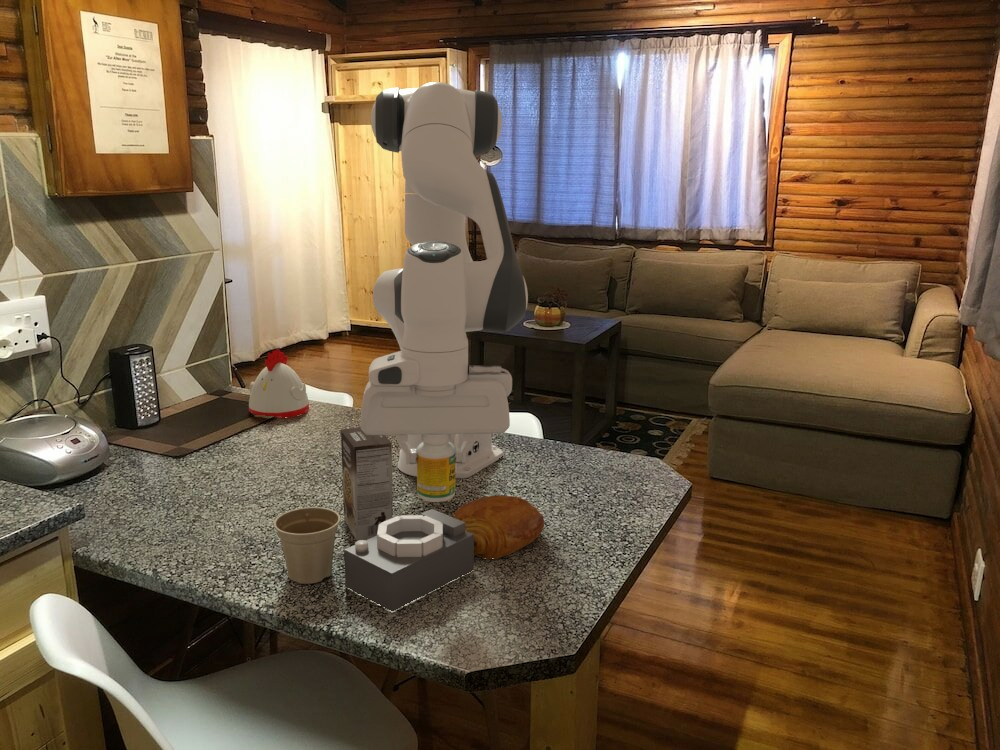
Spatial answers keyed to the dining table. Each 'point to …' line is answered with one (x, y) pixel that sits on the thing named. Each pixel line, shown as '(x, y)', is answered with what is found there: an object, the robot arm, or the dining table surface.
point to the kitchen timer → (278, 390)
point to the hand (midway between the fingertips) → (435, 462)
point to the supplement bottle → (436, 468)
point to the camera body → (409, 558)
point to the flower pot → (308, 542)
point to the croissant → (500, 524)
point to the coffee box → (366, 481)
